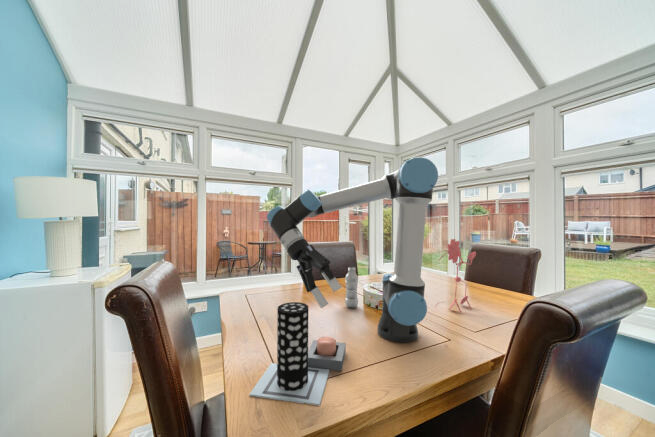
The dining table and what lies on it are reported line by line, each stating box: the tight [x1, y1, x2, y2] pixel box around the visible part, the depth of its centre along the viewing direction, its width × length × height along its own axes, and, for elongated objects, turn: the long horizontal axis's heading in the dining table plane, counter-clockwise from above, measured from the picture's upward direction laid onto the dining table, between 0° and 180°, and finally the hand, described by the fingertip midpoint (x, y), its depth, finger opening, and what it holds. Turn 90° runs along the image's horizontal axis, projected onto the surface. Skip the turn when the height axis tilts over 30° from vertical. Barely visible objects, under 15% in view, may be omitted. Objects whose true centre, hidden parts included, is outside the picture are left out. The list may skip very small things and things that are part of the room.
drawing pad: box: [249, 362, 331, 406], centre depth 69 cm, size 18×14×1 cm
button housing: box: [308, 339, 347, 372], centre depth 81 cm, size 11×11×3 cm
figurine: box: [435, 238, 480, 313], centre depth 130 cm, size 15×26×35 cm, turn 123°
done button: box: [317, 336, 337, 357], centre depth 81 cm, size 6×6×4 cm
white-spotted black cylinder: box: [276, 301, 309, 391], centre depth 69 cm, size 8×8×20 cm
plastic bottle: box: [344, 266, 359, 309], centre depth 128 cm, size 6×7×20 cm
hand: (331, 298), depth 78 cm, fingers open, 13 cm apart
